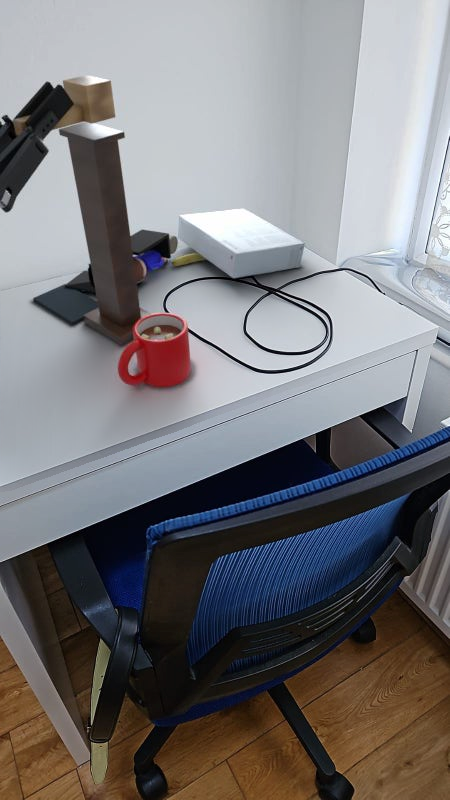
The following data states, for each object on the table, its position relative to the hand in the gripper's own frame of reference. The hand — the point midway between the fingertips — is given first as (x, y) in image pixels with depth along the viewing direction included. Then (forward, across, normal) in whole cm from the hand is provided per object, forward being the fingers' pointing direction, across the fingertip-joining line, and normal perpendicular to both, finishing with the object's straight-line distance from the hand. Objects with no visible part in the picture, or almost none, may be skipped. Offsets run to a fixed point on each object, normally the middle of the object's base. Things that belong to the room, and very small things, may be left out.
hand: (60, 92), depth 73 cm
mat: (-17, -12, -32) cm, 38 cm away
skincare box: (+20, 0, -51) cm, 55 cm away
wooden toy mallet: (-2, 0, -3) cm, 4 cm away
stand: (-15, 0, -33) cm, 36 cm away
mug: (-20, +15, -30) cm, 39 cm away
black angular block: (-10, -12, -36) cm, 39 cm away
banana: (+6, -9, -44) cm, 45 cm away
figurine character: (-2, -11, -40) cm, 42 cm away
